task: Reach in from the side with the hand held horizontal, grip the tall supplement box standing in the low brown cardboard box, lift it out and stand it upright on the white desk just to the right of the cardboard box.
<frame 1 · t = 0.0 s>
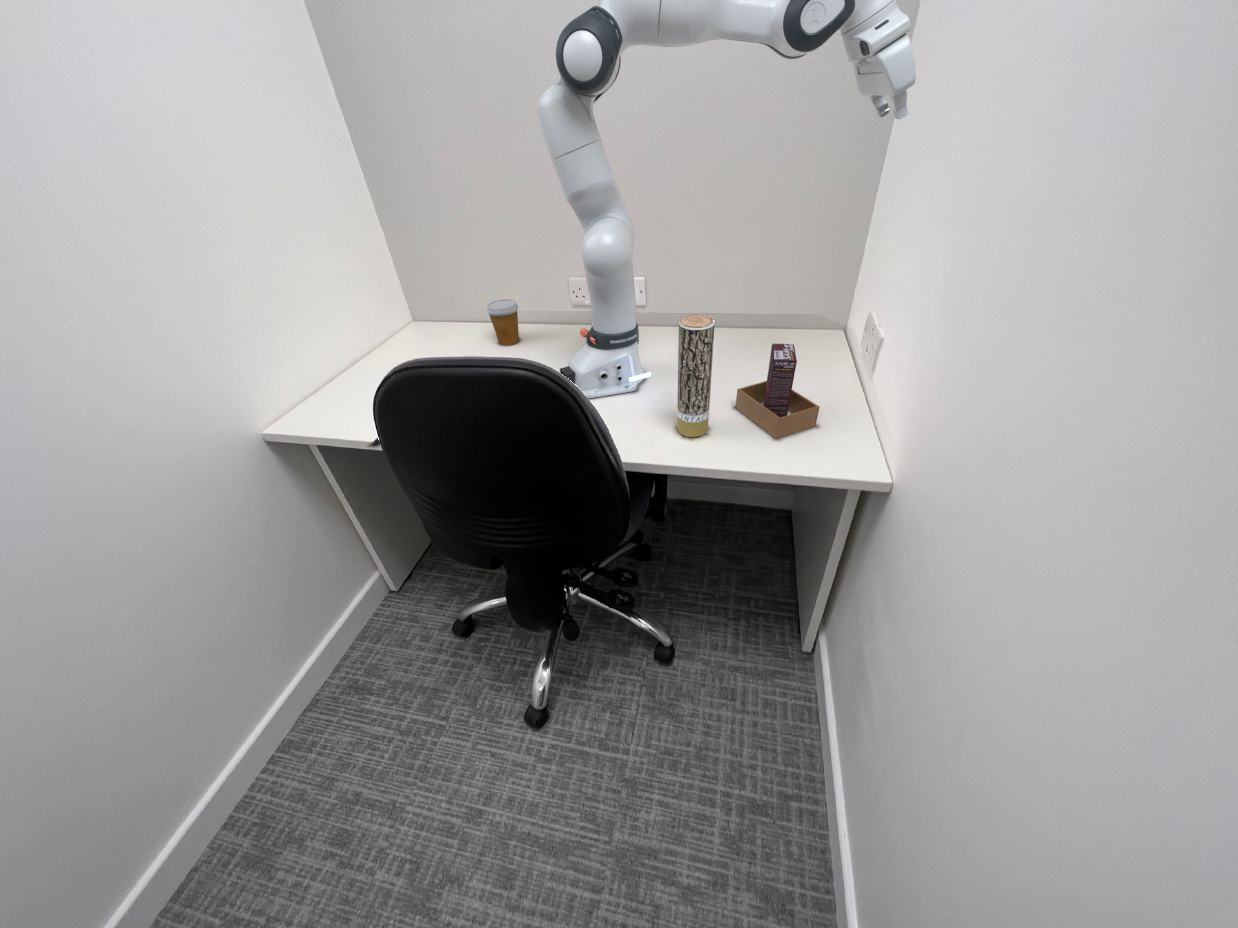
hand: (892, 116, 94), 54 cm above the table, tool tilted 30°, fingers open, 8 cm apart
supplement box: (773, 417, 112), resting in cardboard box
paper tube: (692, 431, 110), on the table
cardboard box: (773, 416, 112), on the table
disposable coffee cup: (509, 342, 156), on the table
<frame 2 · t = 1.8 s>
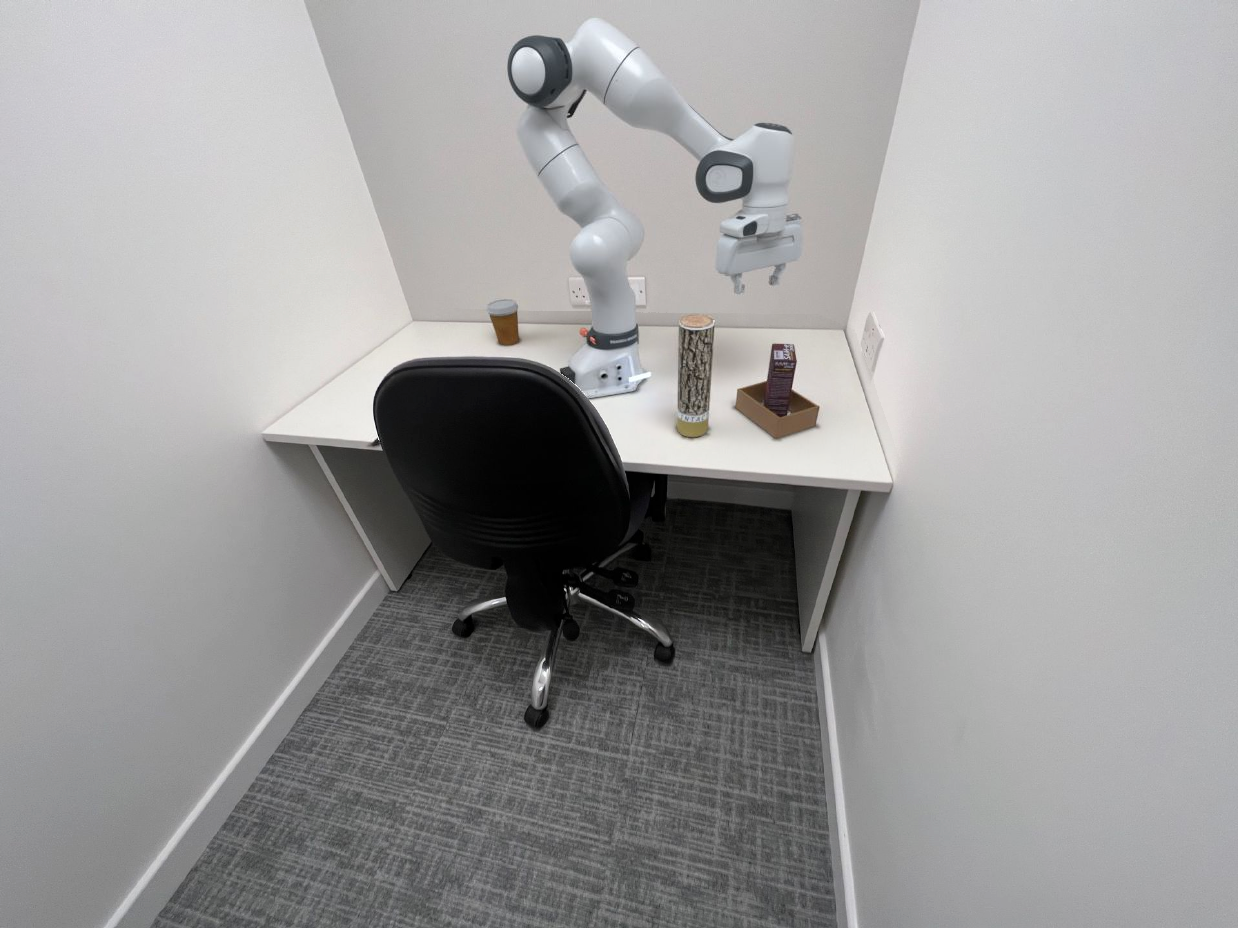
hand: (756, 288, 108), 25 cm above the table, tool pointing down, fingers open, 8 cm apart
nothing on the table moved.
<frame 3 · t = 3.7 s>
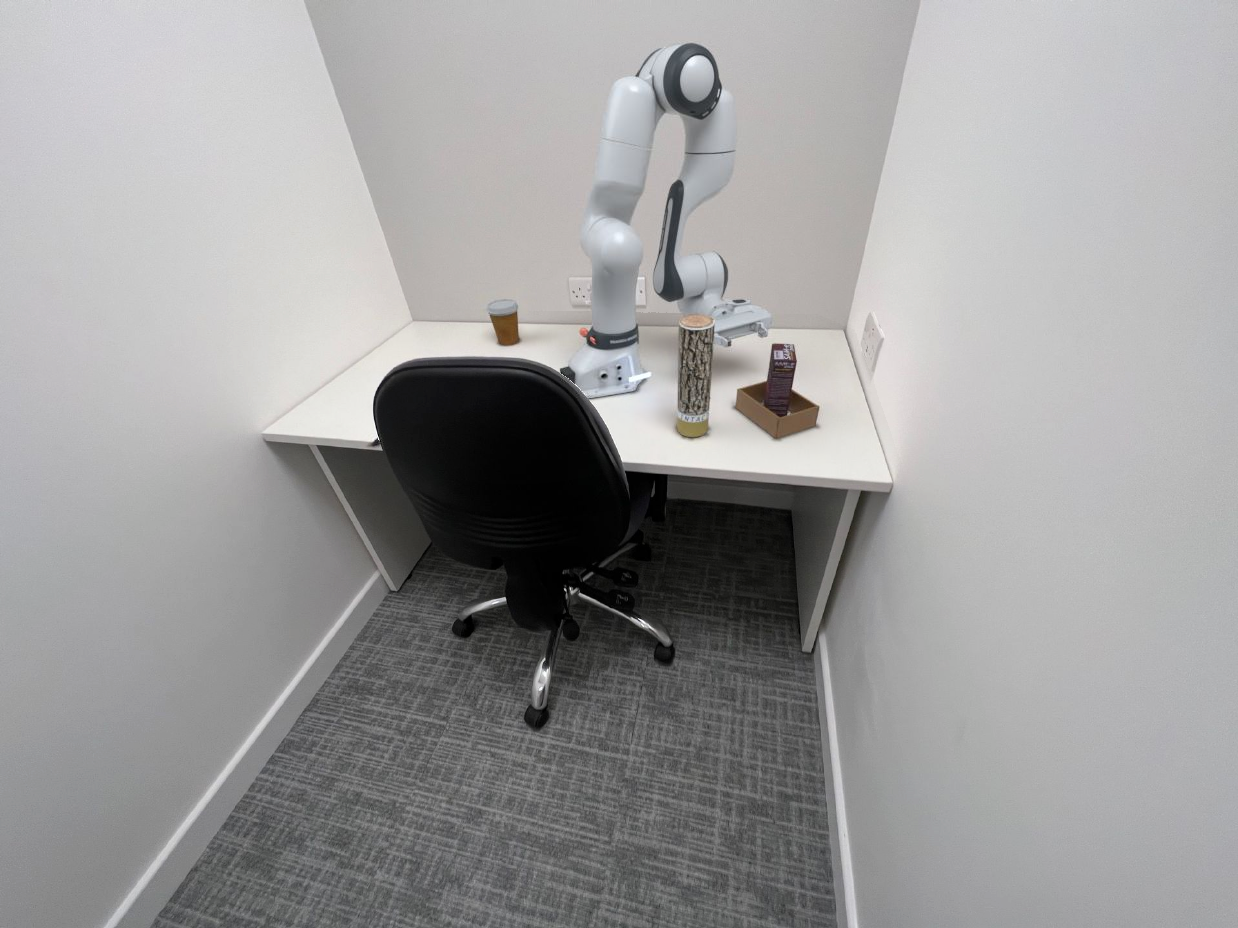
hand: (747, 339, 112), 15 cm above the table, tool horizontal, fingers open, 8 cm apart
nothing on the table moved.
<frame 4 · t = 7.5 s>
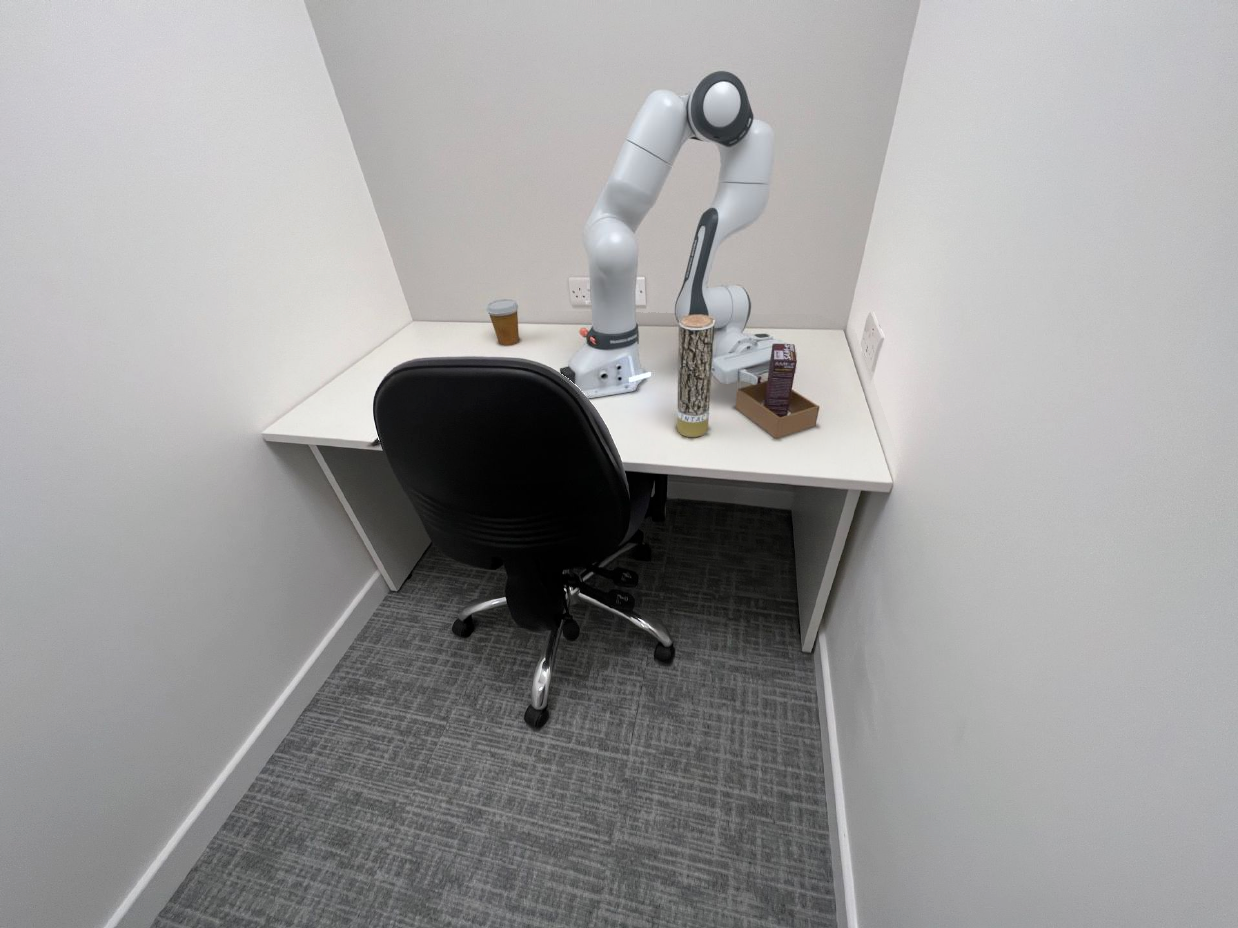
hand: (776, 376, 108), 10 cm above the table, tool horizontal, fingers open, 8 cm apart
supplement box: (774, 417, 112), resting in cardboard box, touching gripper
everything else where it was.
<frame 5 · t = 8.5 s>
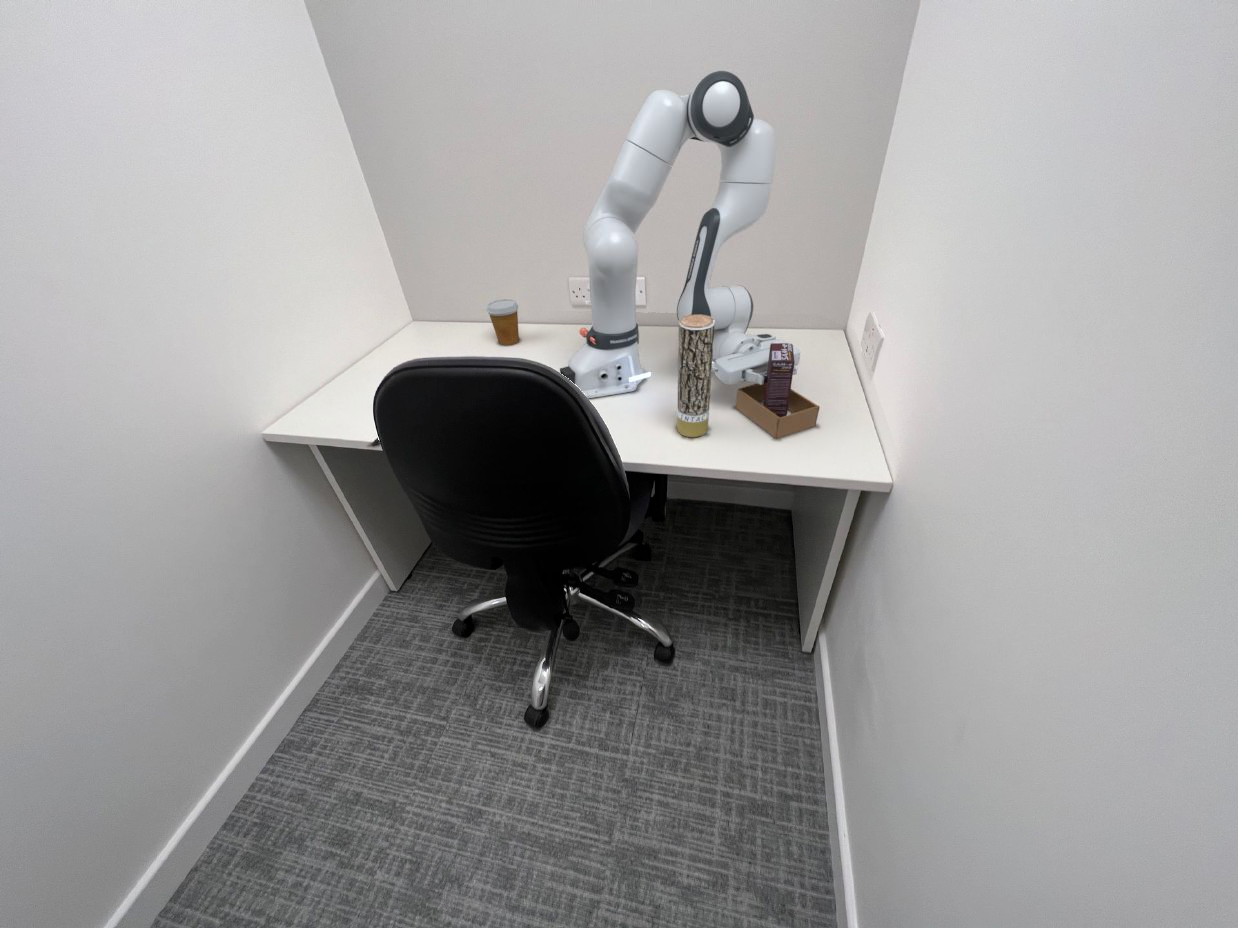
hand: (780, 376, 107), 10 cm above the table, tool horizontal, fingers closed on supplement box, 6 cm apart
supplement box: (774, 416, 112), resting in cardboard box, touching gripper
everything else where it was.
when the fingers open (10 cm above the table, at t = 18.1 s): supplement box stays where it is, on the table.
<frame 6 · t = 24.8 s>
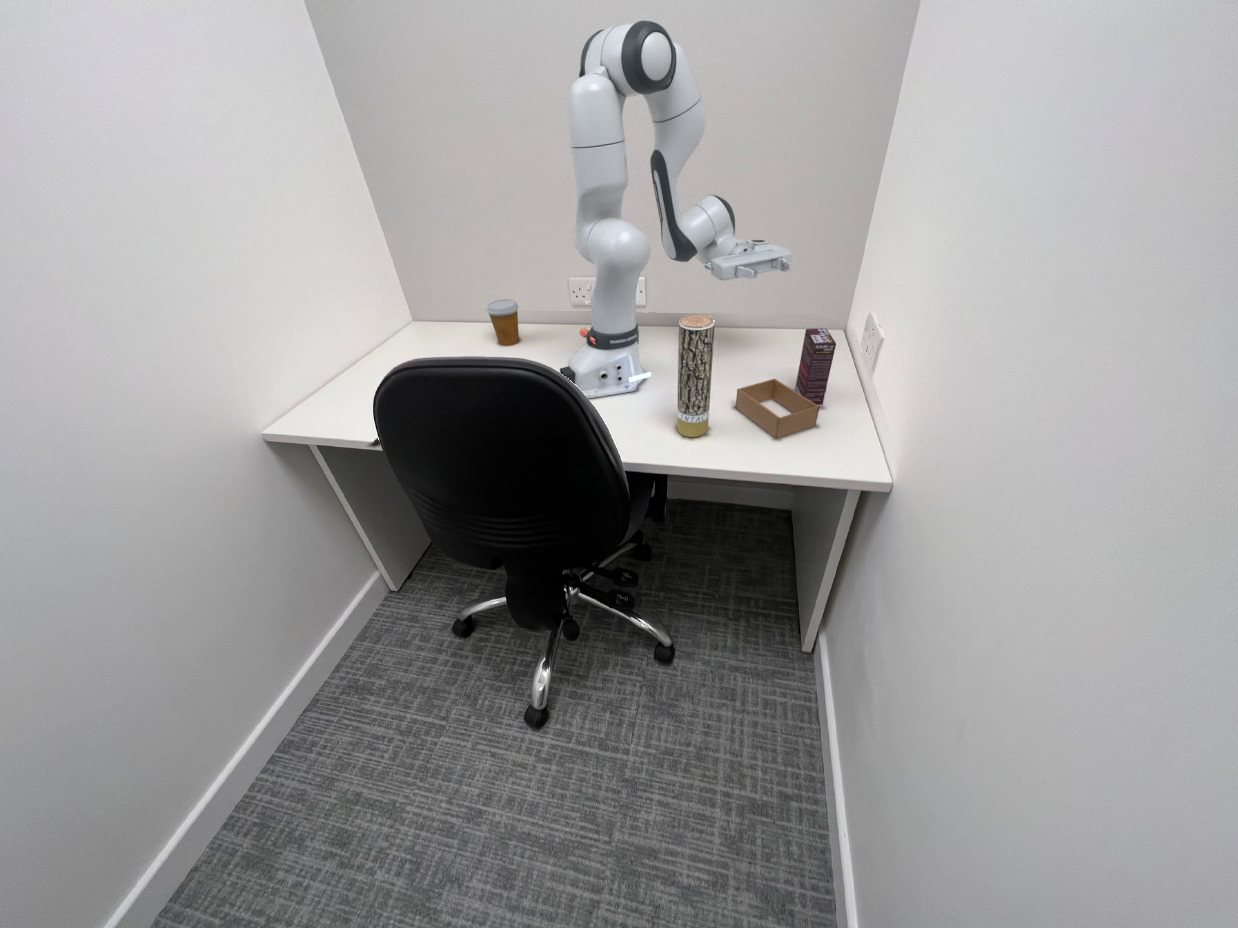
hand: (771, 271, 114), 26 cm above the table, tool horizontal, fingers open, 8 cm apart
supplement box: (808, 399, 118), on the table
everything else where it was.
at the end: supplement box inside the target area (0.4 cm from its centre), on the table; supplement box tilted 0°; the gripper is holding nothing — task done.
